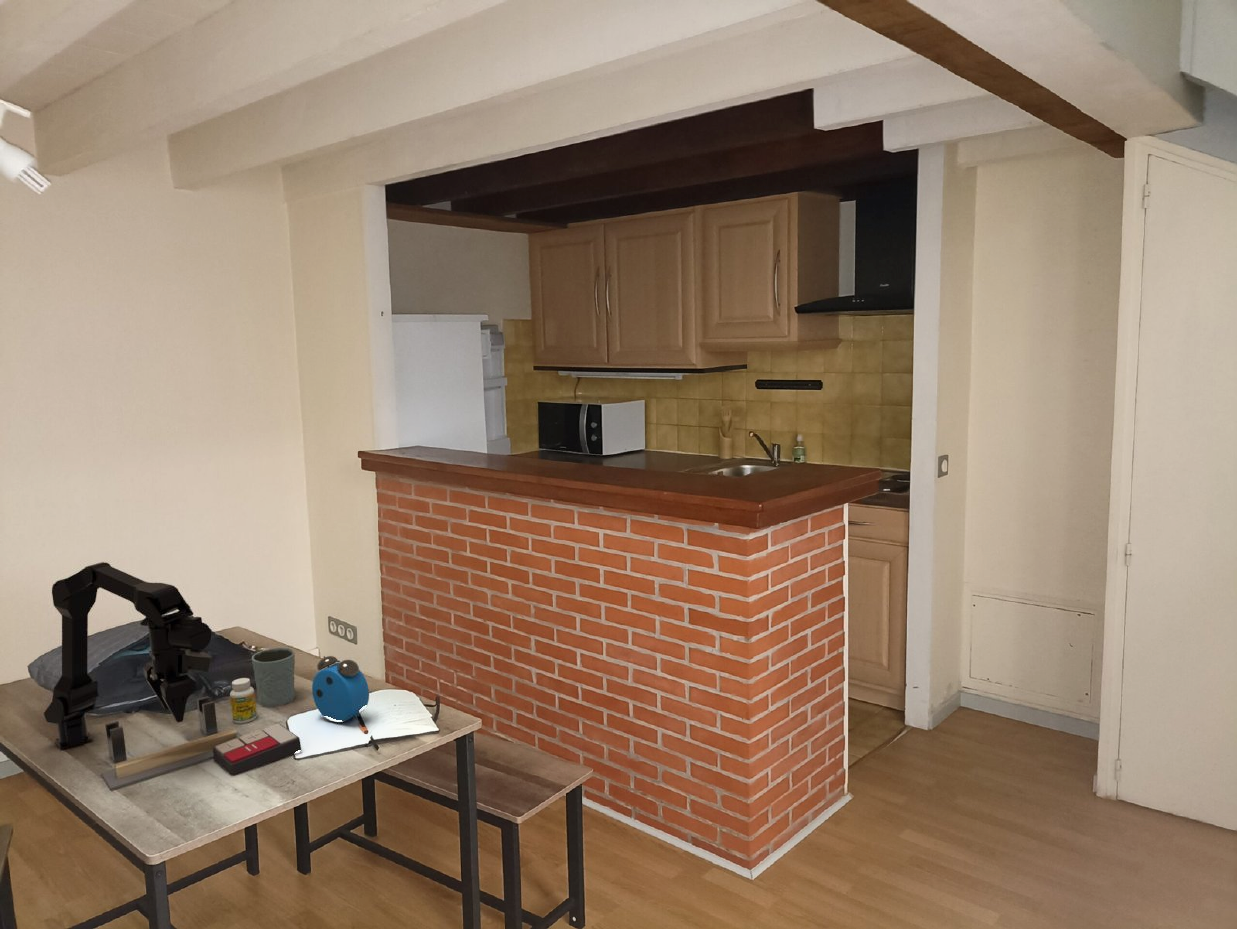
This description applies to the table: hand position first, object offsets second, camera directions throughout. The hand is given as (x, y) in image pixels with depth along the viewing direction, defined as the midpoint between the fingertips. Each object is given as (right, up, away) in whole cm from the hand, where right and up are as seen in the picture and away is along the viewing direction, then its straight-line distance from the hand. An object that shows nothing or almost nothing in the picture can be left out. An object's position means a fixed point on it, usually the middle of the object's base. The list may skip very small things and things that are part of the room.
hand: (173, 715), depth 195 cm
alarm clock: (+30, -7, +20) cm, 37 cm away
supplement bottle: (+6, -7, +22) cm, 24 cm away
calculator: (+17, -10, +3) cm, 20 cm away
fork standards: (-7, -9, +10) cm, 15 cm away
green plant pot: (+10, -6, +33) cm, 35 cm away
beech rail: (0, -10, +2) cm, 10 cm away
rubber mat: (0, -10, +2) cm, 10 cm away
